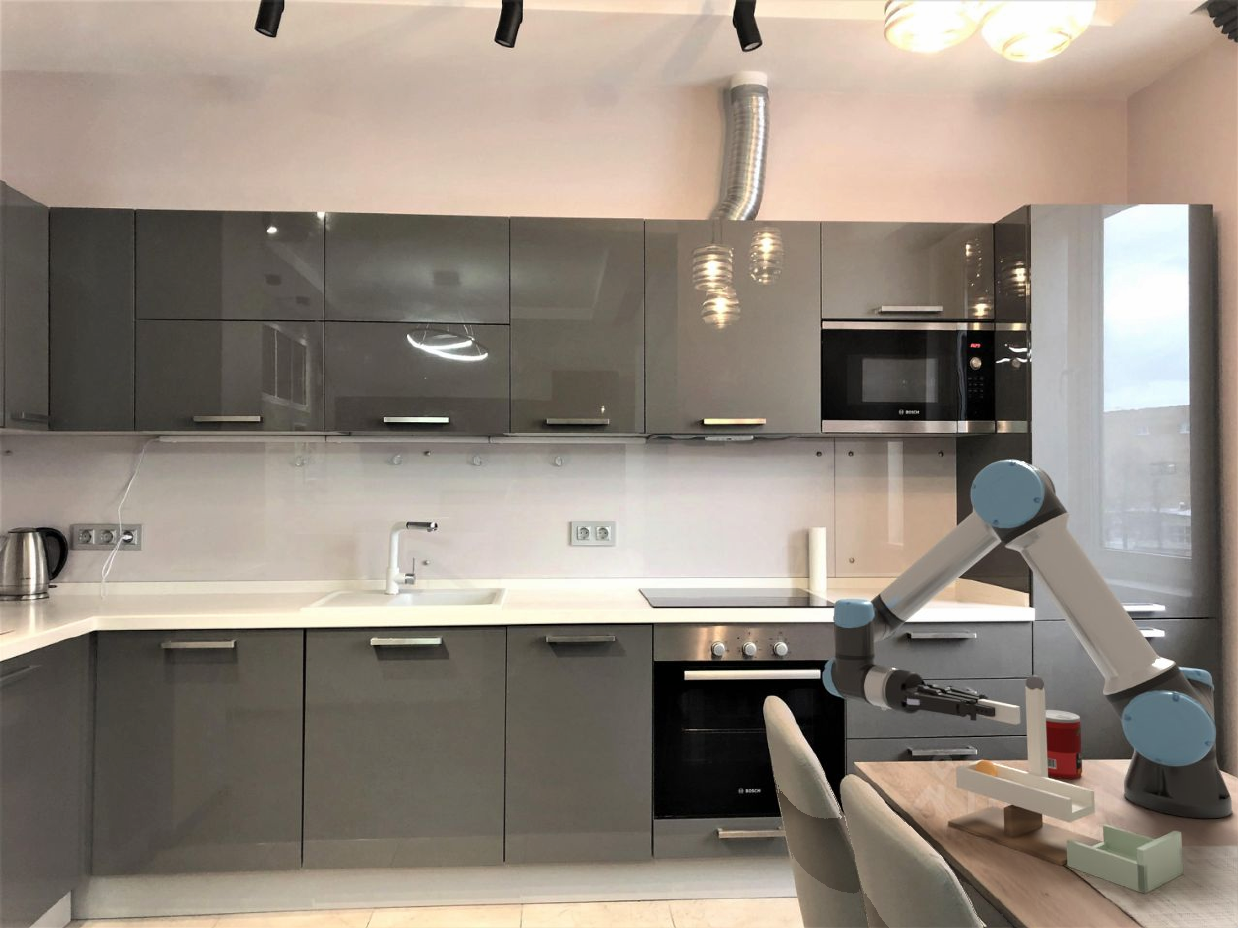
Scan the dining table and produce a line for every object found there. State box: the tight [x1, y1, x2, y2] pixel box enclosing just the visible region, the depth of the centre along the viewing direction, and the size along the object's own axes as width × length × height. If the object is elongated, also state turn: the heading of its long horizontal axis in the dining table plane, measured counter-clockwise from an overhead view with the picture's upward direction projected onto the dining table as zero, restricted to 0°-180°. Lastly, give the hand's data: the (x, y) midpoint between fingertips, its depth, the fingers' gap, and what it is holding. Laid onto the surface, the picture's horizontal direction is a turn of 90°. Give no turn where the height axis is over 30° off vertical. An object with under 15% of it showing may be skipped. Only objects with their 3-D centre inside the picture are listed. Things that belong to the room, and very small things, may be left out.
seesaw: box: [955, 674, 1096, 823], centre depth 126 cm, size 18×9×18 cm, turn 33°
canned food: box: [1045, 709, 1083, 780], centre depth 154 cm, size 8×8×11 cm
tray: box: [1066, 823, 1184, 895], centre depth 112 cm, size 10×11×6 cm
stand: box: [947, 804, 1104, 867], centre depth 124 cm, size 18×12×5 cm, turn 33°
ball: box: [975, 759, 997, 777], centre depth 130 cm, size 3×3×3 cm
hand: (1017, 715), depth 130 cm, fingers closed
